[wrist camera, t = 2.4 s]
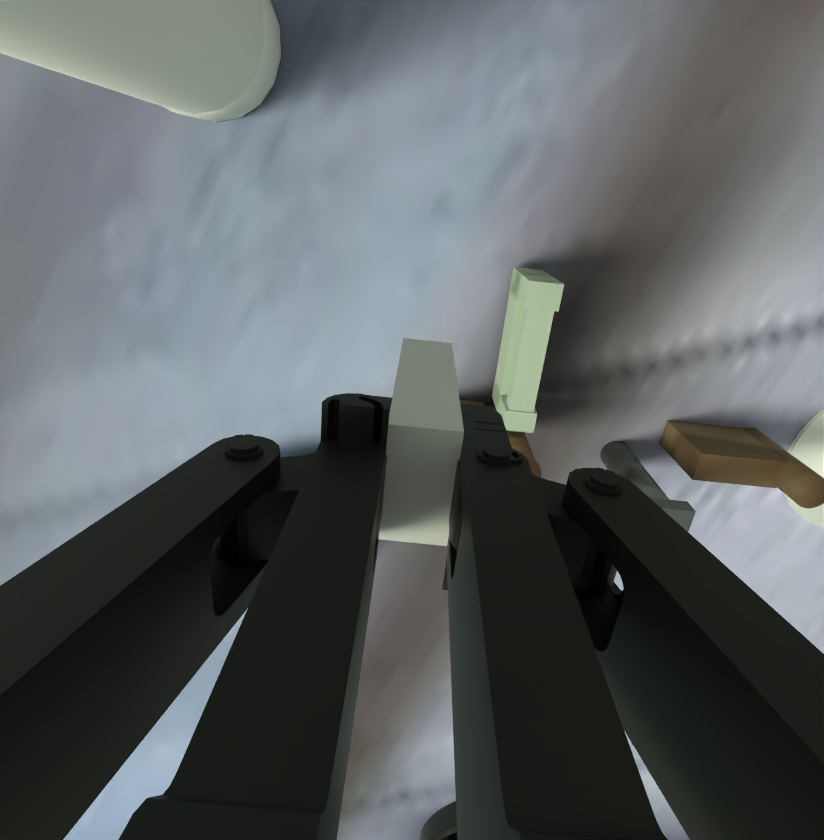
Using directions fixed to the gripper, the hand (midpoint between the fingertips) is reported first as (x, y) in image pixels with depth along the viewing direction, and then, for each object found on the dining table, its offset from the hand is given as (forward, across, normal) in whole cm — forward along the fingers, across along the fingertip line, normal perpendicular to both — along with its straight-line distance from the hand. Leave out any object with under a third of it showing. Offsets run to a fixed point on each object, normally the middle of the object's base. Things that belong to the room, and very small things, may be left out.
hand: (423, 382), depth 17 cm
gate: (+17, -6, +2) cm, 19 cm away
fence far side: (+18, -20, +8) cm, 28 cm away
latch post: (+18, -14, +10) cm, 25 cm away
